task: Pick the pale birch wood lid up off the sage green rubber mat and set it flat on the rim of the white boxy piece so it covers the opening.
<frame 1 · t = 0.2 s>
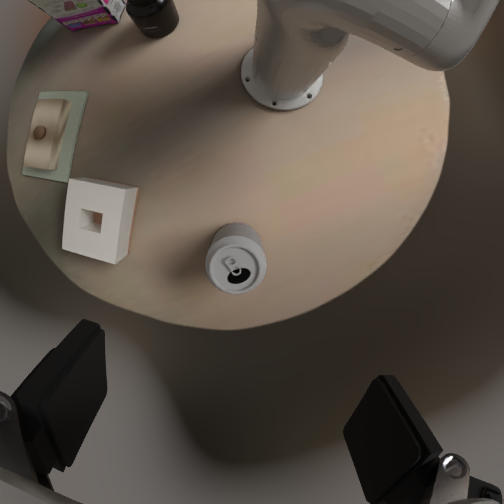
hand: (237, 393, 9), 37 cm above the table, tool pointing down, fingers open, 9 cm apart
mat: (52, 134, 38), on the table
white boxy piece: (107, 214, 43), on the table
can: (237, 245, 45), on the table
supplement bottle: (160, 24, 35), on the table
candy bar box: (98, 17, 33), on the table
lid: (50, 134, 38), point 1 cm above the table, touching mat
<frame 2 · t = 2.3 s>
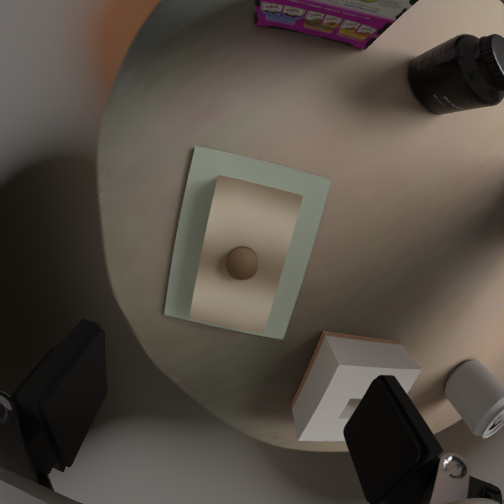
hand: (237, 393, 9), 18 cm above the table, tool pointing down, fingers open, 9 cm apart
mat: (242, 249, 26), on the table
white boxy piece: (344, 374, 30), on the table
can: (459, 375, 32), on the table
supplement bottle: (430, 85, 22), on the table
candy bar box: (312, 18, 20), on the table
lid: (242, 251, 25), point 1 cm above the table, touching mat
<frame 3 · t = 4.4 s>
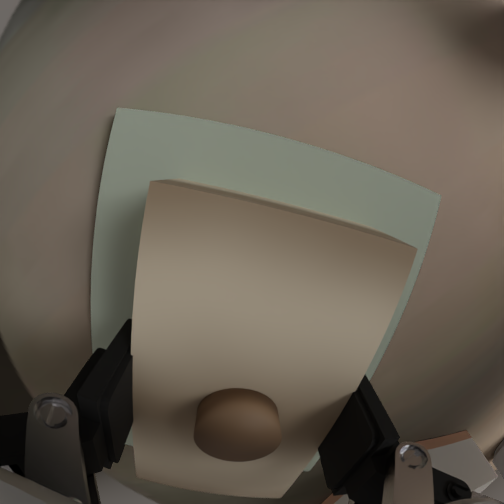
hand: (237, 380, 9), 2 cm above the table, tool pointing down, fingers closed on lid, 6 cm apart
mat: (238, 350, 11), on the table
white boxy piece: (389, 480, 15), on the table
lid: (237, 359, 10), point 1 cm above the table, touching gripper, mat
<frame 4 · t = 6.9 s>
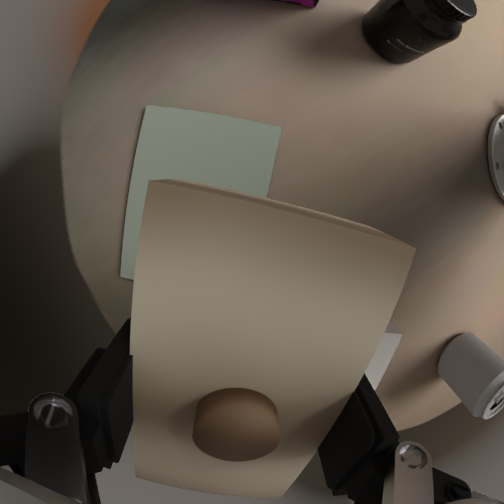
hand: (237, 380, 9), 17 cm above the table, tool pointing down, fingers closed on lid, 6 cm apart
mat: (194, 203, 25), on the table
white boxy piece: (319, 346, 29), on the table
can: (453, 351, 31), on the table
supplement bottle: (388, 38, 21), on the table
lid: (237, 359, 10), point 16 cm above the table, touching gripper
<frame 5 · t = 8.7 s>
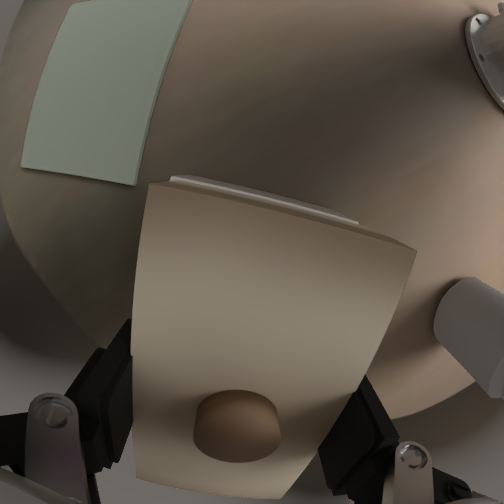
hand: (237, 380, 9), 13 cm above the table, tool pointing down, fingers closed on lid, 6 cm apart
mat: (95, 78, 17), on the table
white boxy piece: (243, 263, 21), on the table
can: (455, 307, 23), on the table
lid: (237, 360, 10), point 11 cm above the table, touching gripper
when the fingers open (9 cm above the table, at t = 9.9 s): lid drops 1 cm, resting on white boxy piece.
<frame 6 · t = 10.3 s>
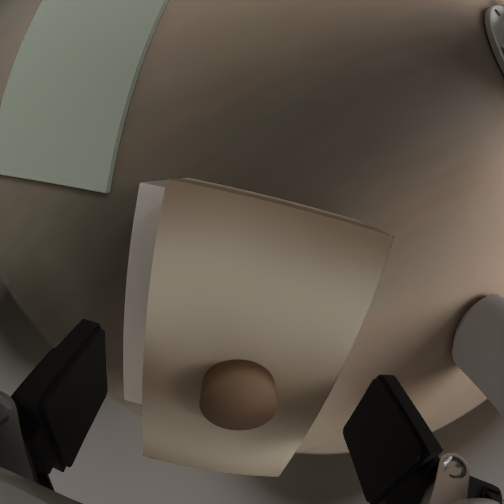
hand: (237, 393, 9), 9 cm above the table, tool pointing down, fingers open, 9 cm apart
mat: (66, 67, 13), on the table
white boxy piece: (238, 287, 18), on the table
can: (474, 326, 20), on the table
lid: (238, 340, 12), point 6 cm above the table, touching white boxy piece
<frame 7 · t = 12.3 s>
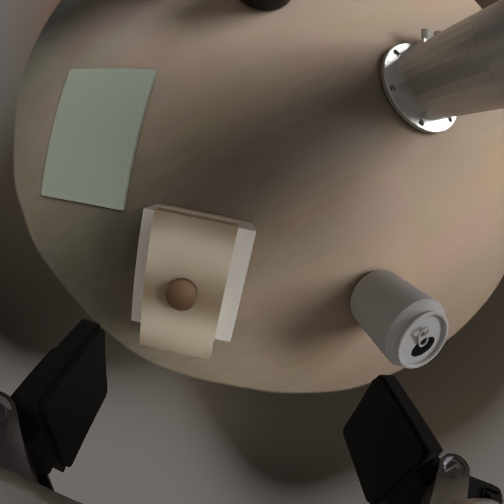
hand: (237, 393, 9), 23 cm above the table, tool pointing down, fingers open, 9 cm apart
mat: (92, 133, 27), on the table
white boxy piece: (195, 261, 31), on the table
can: (373, 295, 34), on the table
lid: (188, 279, 25), point 6 cm above the table, touching white boxy piece
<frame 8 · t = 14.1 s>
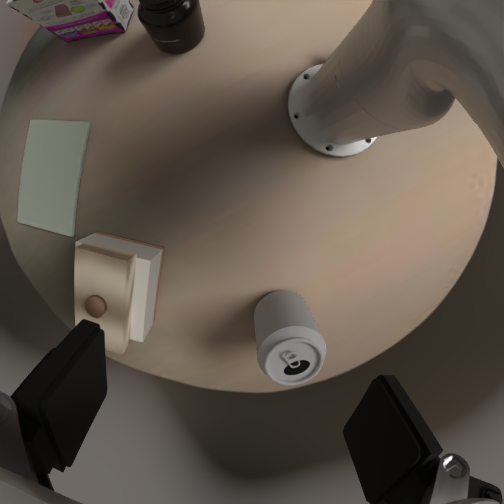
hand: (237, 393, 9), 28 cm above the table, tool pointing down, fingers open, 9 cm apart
mat: (49, 174, 33), on the table
white boxy piece: (125, 277, 37), on the table
can: (280, 311, 39), on the table
supplement bottle: (180, 35, 29), on the table
candy bar box: (99, 24, 27), on the table
lid: (108, 294, 31), point 6 cm above the table, touching white boxy piece
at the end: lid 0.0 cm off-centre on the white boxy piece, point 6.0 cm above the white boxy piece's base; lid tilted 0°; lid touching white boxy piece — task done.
